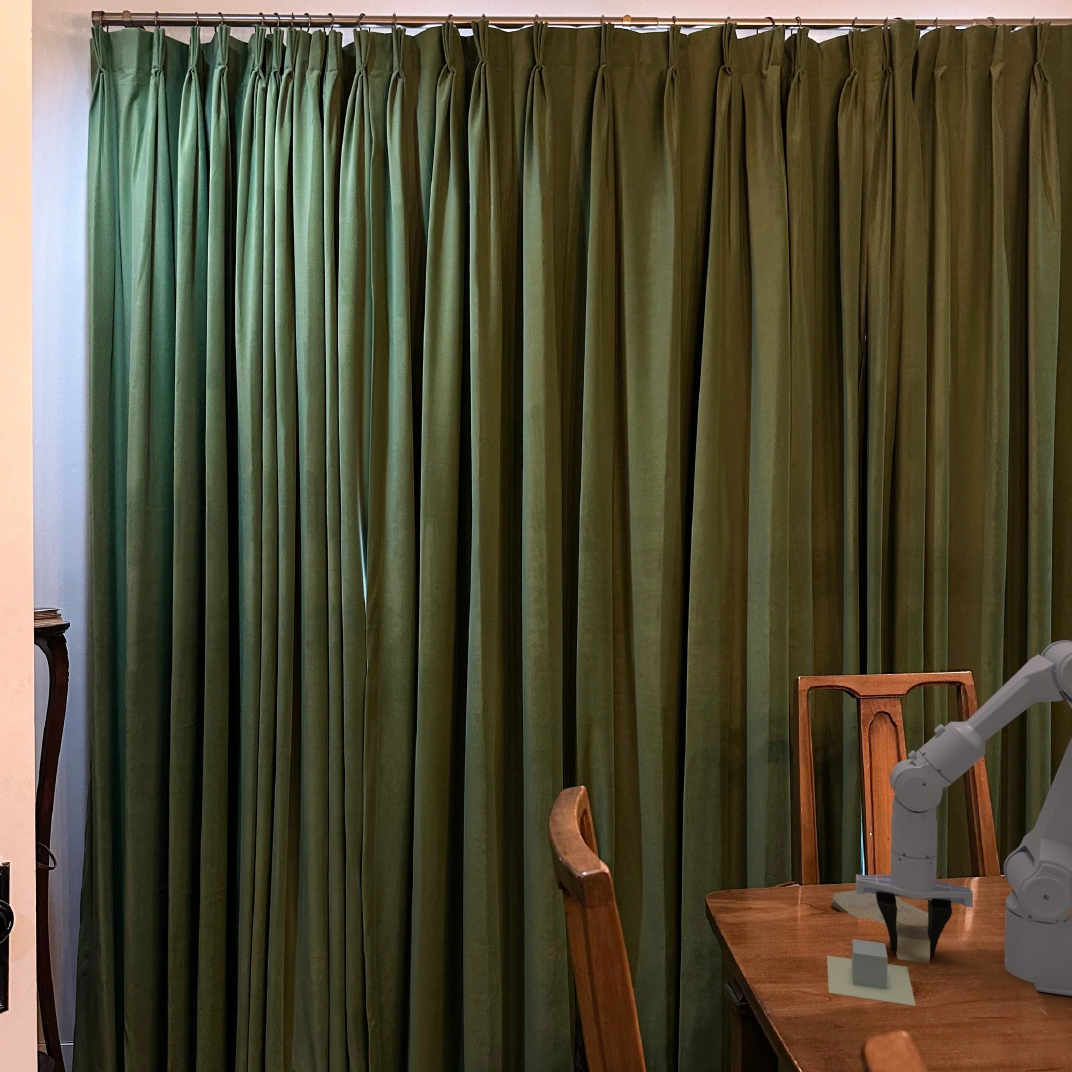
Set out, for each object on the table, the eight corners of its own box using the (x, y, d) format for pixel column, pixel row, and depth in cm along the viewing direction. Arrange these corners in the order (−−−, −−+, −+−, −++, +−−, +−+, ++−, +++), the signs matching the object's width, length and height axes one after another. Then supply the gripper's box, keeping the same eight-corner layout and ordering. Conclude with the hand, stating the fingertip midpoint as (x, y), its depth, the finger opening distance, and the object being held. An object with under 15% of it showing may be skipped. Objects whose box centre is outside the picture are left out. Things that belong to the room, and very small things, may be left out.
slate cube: (884, 974, 118) (884, 943, 117) (887, 989, 114) (887, 957, 114) (851, 969, 119) (852, 939, 119) (853, 984, 115) (853, 953, 115)
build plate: (906, 974, 120) (906, 966, 120) (915, 1013, 110) (915, 1005, 110) (826, 963, 122) (827, 955, 122) (828, 1000, 113) (828, 992, 113)
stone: (946, 940, 131) (947, 922, 131) (885, 950, 127) (885, 931, 127) (878, 898, 145) (878, 882, 145) (821, 906, 142) (821, 889, 141)
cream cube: (925, 957, 124) (926, 928, 124) (929, 971, 121) (930, 941, 121) (894, 953, 126) (895, 924, 126) (897, 966, 122) (897, 937, 122)
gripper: (967, 847, 125) (965, 945, 125) (855, 835, 129) (853, 930, 129) (976, 865, 118) (974, 969, 118) (857, 852, 122) (856, 953, 122)
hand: (911, 951), depth 123 cm, fingers closed on cream cube, 4 cm apart
